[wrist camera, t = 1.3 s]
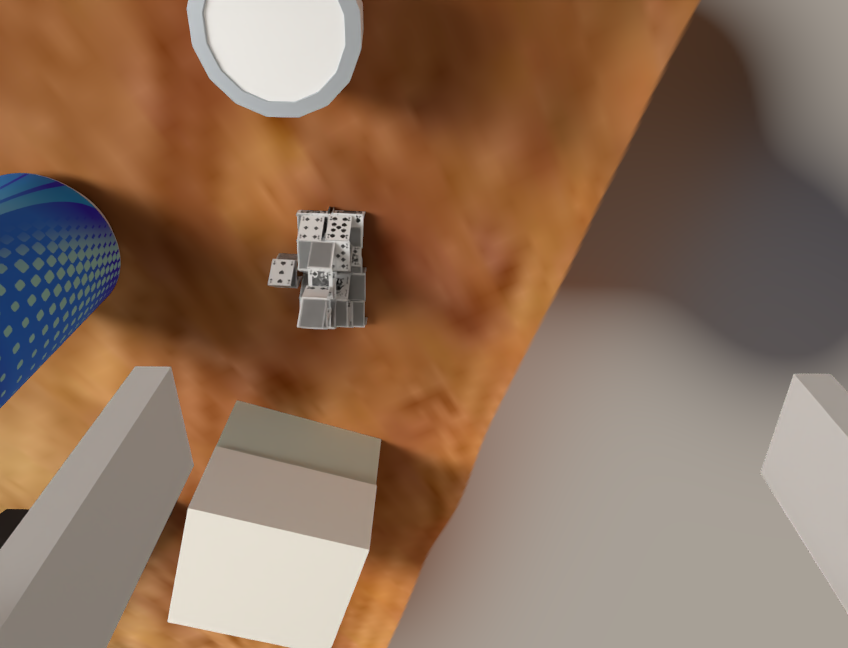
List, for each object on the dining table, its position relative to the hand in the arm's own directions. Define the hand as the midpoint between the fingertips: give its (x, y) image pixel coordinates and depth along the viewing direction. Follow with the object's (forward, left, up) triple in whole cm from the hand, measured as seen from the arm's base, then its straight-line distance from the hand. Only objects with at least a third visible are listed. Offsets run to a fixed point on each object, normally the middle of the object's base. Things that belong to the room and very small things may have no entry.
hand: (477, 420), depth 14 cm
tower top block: (-3, -25, -19) cm, 31 cm away
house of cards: (-7, -9, -24) cm, 26 cm away
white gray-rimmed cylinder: (-9, +4, -24) cm, 25 cm away
